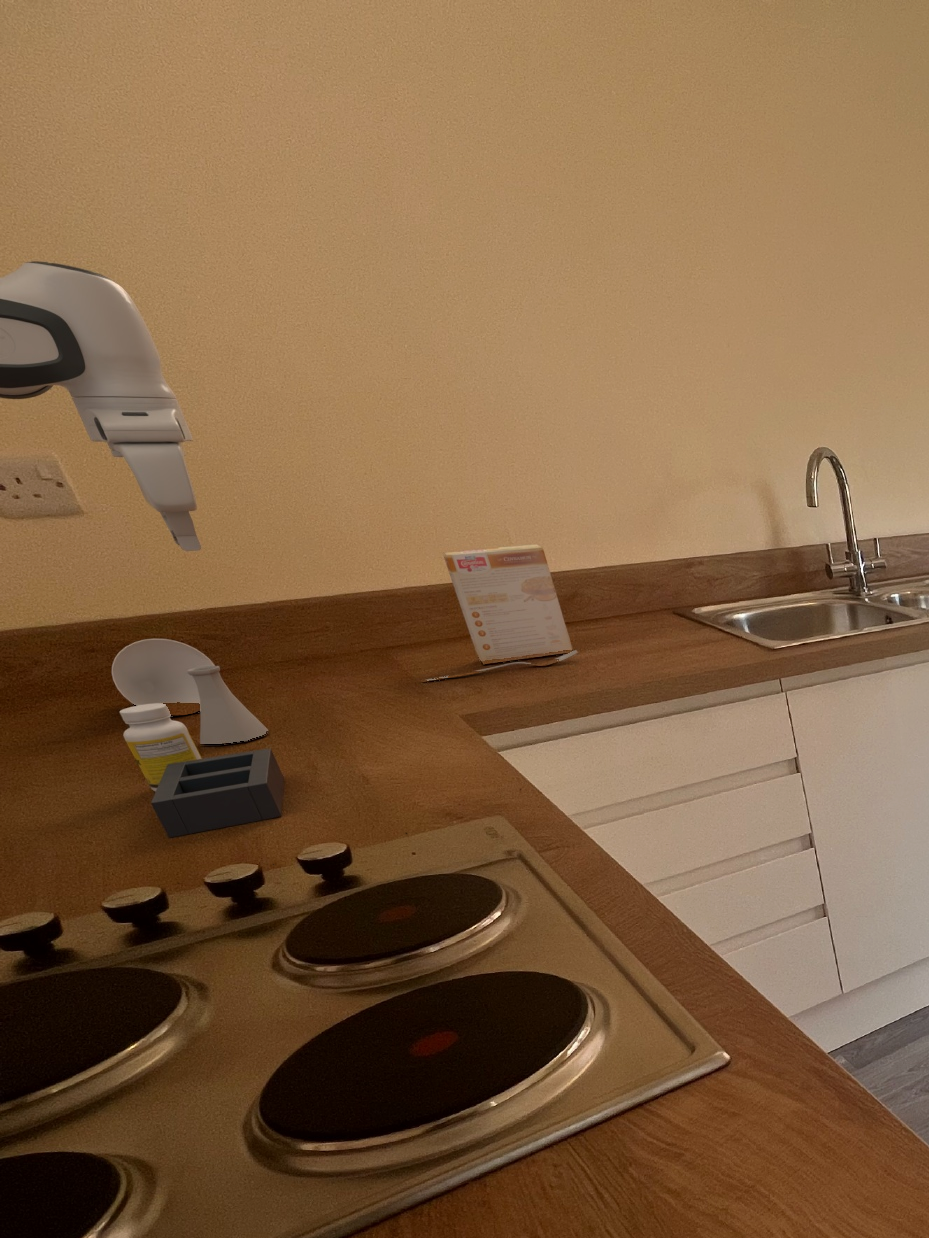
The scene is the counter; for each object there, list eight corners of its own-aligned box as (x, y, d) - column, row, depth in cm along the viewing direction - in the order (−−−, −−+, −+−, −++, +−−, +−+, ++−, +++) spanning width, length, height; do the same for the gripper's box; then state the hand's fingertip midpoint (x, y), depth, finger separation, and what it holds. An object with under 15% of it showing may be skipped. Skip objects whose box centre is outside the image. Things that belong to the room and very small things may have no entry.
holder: (168, 838, 101) (150, 802, 99) (183, 796, 113) (167, 764, 111) (281, 816, 106) (266, 782, 104) (284, 778, 118) (270, 747, 116)
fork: (420, 680, 164) (416, 670, 163) (578, 658, 178) (575, 649, 177) (422, 684, 161) (418, 673, 161) (582, 661, 175) (579, 652, 175)
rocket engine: (105, 639, 150) (132, 623, 140) (202, 675, 159) (234, 662, 150) (70, 705, 147) (96, 694, 137) (171, 737, 156) (202, 729, 147)
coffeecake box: (567, 648, 187) (537, 543, 178) (574, 653, 182) (543, 546, 173) (477, 659, 178) (440, 550, 170) (482, 666, 173) (444, 553, 165)
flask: (219, 734, 136) (186, 664, 131) (280, 729, 138) (249, 660, 133) (189, 749, 129) (153, 676, 125) (253, 743, 131) (220, 672, 127)
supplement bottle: (166, 781, 117) (127, 704, 113) (221, 776, 119) (184, 699, 115) (141, 796, 113) (99, 715, 109) (199, 790, 114) (160, 710, 110)
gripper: (97, 426, 118) (149, 544, 124) (101, 424, 105) (159, 556, 111) (168, 426, 122) (214, 540, 128) (179, 424, 109) (231, 551, 115)
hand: (189, 547), depth 119 cm, fingers open, 8 cm apart
